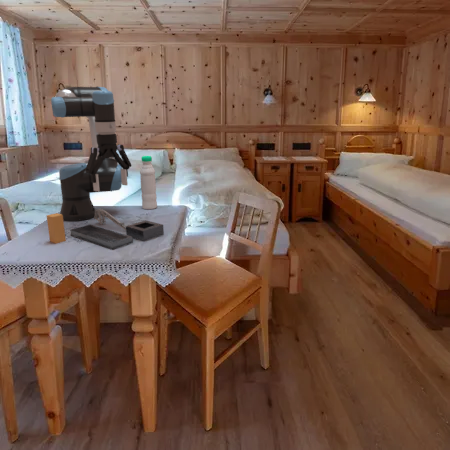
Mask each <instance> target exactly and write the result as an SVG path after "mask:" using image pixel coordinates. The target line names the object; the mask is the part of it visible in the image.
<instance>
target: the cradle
mask: <svg viewBox="0 0 450 450" xmlns="http://www.w3.org/2000/svg"><path fill="white" fill-rule="evenodd" d="M69 232H70V236H71V237H75V238H77V239H80V240H81V241H82V240H83V241H85V242H89V243H91V244H95V245H98V246H101V247H103V248H107V249H110V250H111V251H112V250H115V249H119V248H122V247H124V246H128V245H130V244H133V243H134V241H133V240H134V238H133V237H131V236H128V235H126V234H124V233H121V232H117V231H114V230H110V229H107V228H103V227H102V226H101V227H100V226H97V225H94V224H88V225H87V224H86V225H84V226H79V227H76V228H72V229H70V231H69Z"/></svg>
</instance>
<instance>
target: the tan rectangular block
mask: <svg viewBox="0 0 450 450" xmlns="http://www.w3.org/2000/svg"><path fill="white" fill-rule="evenodd" d="M45 217H46V221H47V229H48V230H47V231H48V236H49V242H51V243H53V244H61V243H63V242H66V241H67V240H66V239H67V238H66V231H65V230H66V229H65V221H64V220H63V215H61V214H60V213H52V214H47V215H46V216H45Z"/></svg>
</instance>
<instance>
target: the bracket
mask: <svg viewBox="0 0 450 450" xmlns="http://www.w3.org/2000/svg"><path fill="white" fill-rule="evenodd" d="M106 218H107V219H108V220H110V221H111V222H112V223H114V224H116V225H117V226H119V227H120V228H121V229H123V231H126V226H127V225H126V224H125V223H124V222H121V221H120V220H119V219H117V218H116V217H114V216H113V215H111V214H110V212H107V211H106V210H105V209H103V208H99V209H98V208H97V209H96V210H95V216H94V217H93V220H96V221H97V222H98V223H99V225H101V226H103V224H104V225H106V223H107V220H106Z"/></svg>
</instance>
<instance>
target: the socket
mask: <svg viewBox="0 0 450 450" xmlns="http://www.w3.org/2000/svg"><path fill="white" fill-rule="evenodd" d="M125 228H126V230H125V232H126V234H125V235H128V236H131V237H133V240H134V239H135V240H139V241H142V242H145V241H146V242H147V241H149V240H151V239H155V238H157V237H161V236H163V235H164V234H165V231H164V224H162V223H158V222H154V221H150V220H142V221H139V222H136V223H135V222H134V223H132V224H129V225H126V227H125Z"/></svg>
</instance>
